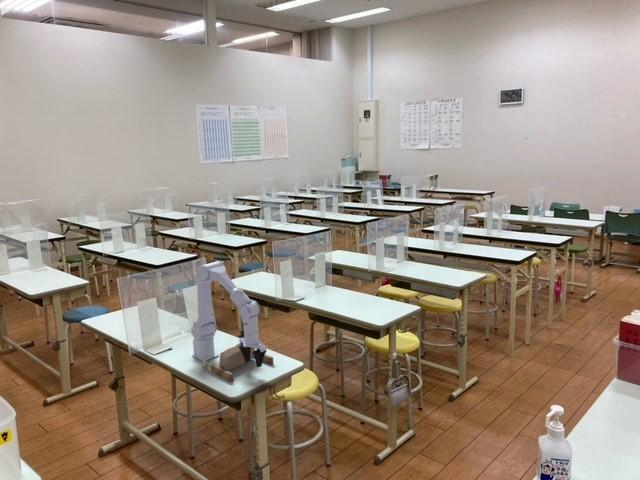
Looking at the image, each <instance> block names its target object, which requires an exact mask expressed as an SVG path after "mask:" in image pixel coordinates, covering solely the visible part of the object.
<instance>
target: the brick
mask: <svg viewBox="0 0 640 480" xmlns="http://www.w3.org/2000/svg"><path fill="white" fill-rule="evenodd" d="M240 345H241V344H240V343H238V344H236V345H234V346H232V347H229V348H227V349H225V350H223V351H222V352H220V354H219V361H218V362H219V363H218V365H219V366H218V367H220V368H222V369H224V370H226V371H228V372H230V371H232V370H234V369H236V368H237V367H240V366H241V365H243V364H245V363H246V362H245V360H244V357H243V354H242V352H241V350H240V349H239V346H240ZM255 350H256V349H255V348H252V347H251V353H250V360H252V359H253V358H255V357H254V354H253V353H252V352H253V351H255Z"/></svg>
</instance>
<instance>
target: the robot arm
mask: <svg viewBox="0 0 640 480" xmlns="http://www.w3.org/2000/svg"><path fill="white" fill-rule="evenodd" d="M196 281H197V282H196V283H197V284H196V285H197V286H196V287H197V291H196V292H197V317H196V318H195V319H194V321H192V327H191V335H192V337H193V340H192V348H193V354H192V357H193V358H196V359H198V360H200V361H201V362H203V361H204V360H206V361H209V360H211V359H214V358H217V357H220V354H218V353H216V352H215V338H214V337H215V334H216V332H217V331H218V326H217V324H216V318H215V317H214V316H212V309H211V306H212V301H211V282H218V283H219V284H220V285H221V286H222V287H223V288H225V290H226V291H227V292H228V293H229V294H230V295H229V298H230V300H231V301H232V302H233V303H234V305H235V306H236V307H237V308H238V309H239V311H238V312H239V315H240V317H241V321H242V323H243V336H244V337H240V338H239V340H238V341H239V344H241V345H240V346H239V349H240V350H241V352H242V354H243V357H244V360H245V363H248V362H251V359H250V353H251V347H252V348H255V350H256V351H253V352H252V353H253V354H254V357H253V358H254V360H255V366H256V368H261V367H262V366H263V358H264V355H265V354H266V353H267V348H266V345H264V344H263V342H261V341H260V333H259V318H258V315H259V314H260V312H261V307H260V304H259V302H257V301H256V300H253V299H250V297H249V296H248V295H247V294H246V293H245V291H244V290H243V289H242V288H239V287H237V285H235V283H234V281H233V280H232V279H231V277H230V276H229V275H228V273H227V269H226V266H225V265H224V263H223V262H222V261H220V260H217V261H214V262H210V263H206V264H200V266H198V267H197V268H196Z"/></svg>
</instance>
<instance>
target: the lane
mask: <svg viewBox="0 0 640 480" xmlns="http://www.w3.org/2000/svg"><path fill="white" fill-rule="evenodd" d="M256 350H257V349H255V351H256ZM263 362H264V363H266V364H268V365H269V366H270V365H271V366H272V365H274V357H273V356H271V355H268V354H266V353H265V355H264V358H263ZM263 362H262V363H263ZM202 368H204V369H205V370H208V371H209V372H211V373H213V374H215V375H217V376H218V377H221V378H223V379H224V380H227V381H229V382H231V383H232V382H234V380H235V379H234V373H233V372H230V371H226V370H224V369H222V368H220V366H218V365H216V364H214V363H212V362H210V361H209V360H204V361H202Z"/></svg>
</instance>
